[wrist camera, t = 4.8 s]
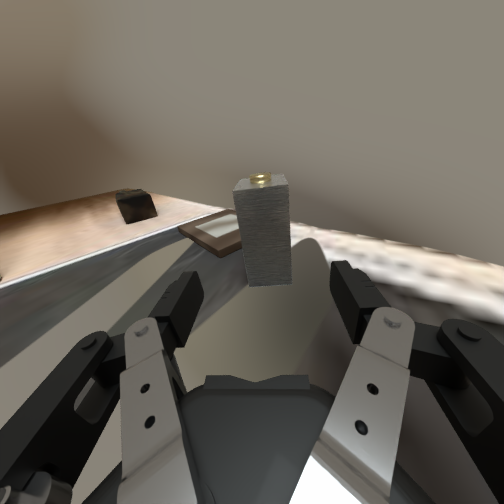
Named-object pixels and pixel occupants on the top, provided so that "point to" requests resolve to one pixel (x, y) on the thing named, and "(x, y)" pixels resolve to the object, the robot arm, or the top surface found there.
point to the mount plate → (215, 232)
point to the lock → (264, 228)
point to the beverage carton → (135, 205)
